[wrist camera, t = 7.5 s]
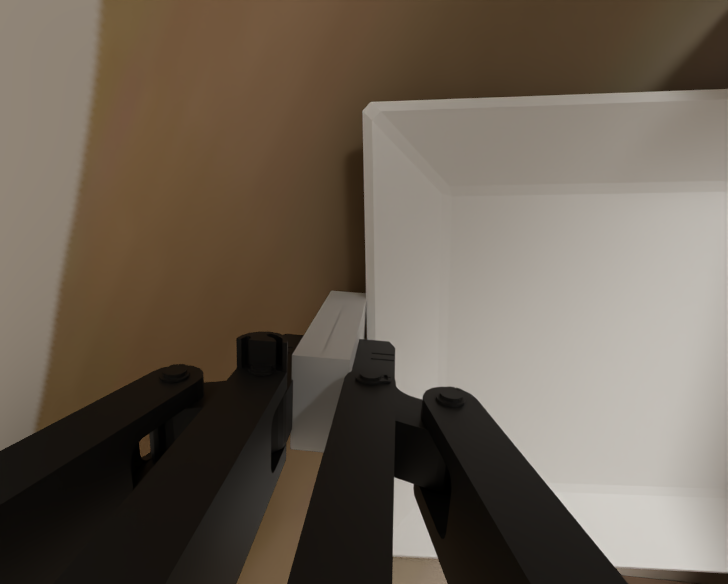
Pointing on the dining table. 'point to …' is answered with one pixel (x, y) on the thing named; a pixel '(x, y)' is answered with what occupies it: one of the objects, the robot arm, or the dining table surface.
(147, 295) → the dining table surface
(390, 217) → the plate
